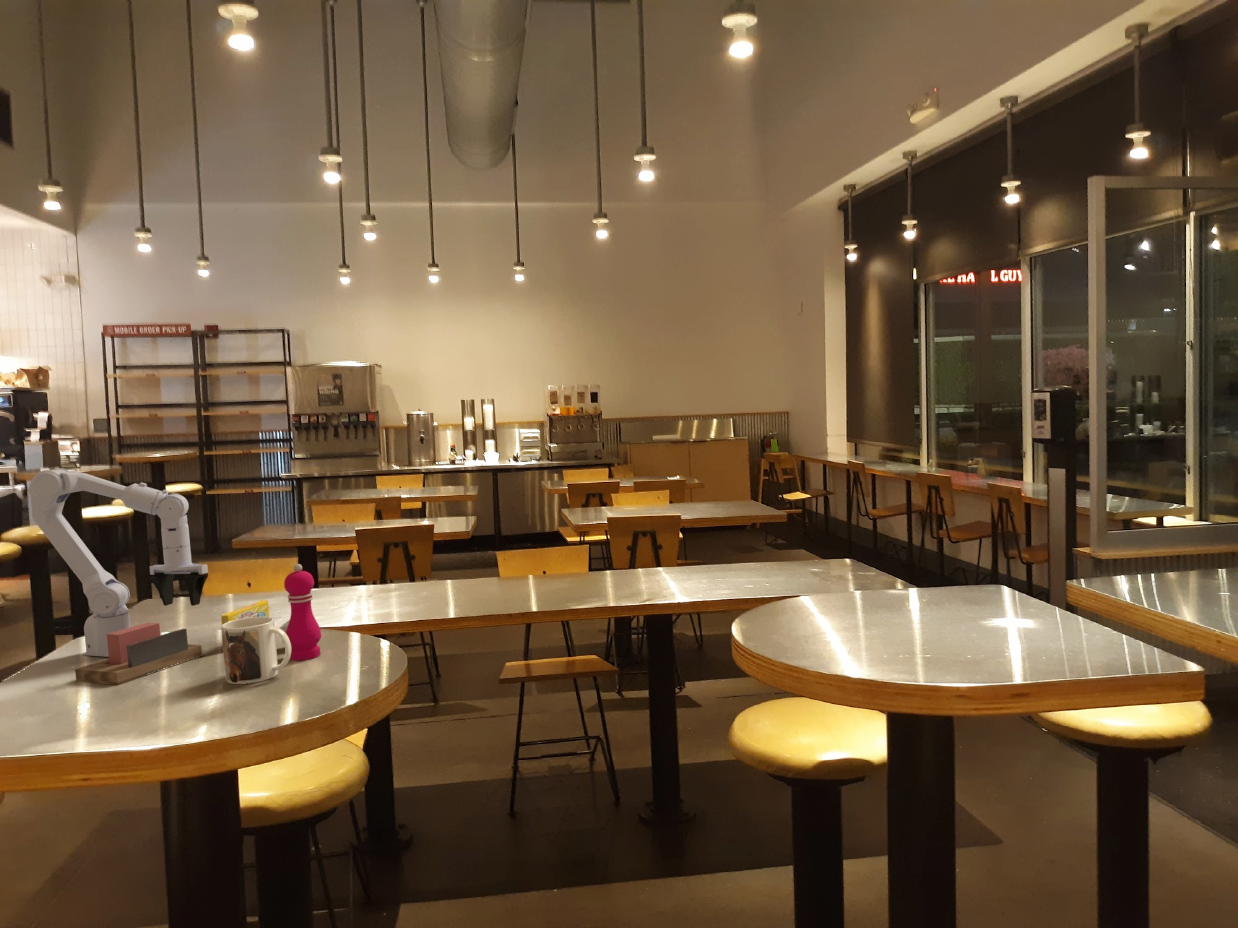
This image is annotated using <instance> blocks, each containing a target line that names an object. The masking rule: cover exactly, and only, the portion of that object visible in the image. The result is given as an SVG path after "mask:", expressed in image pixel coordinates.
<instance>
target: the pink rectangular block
mask: <svg viewBox="0 0 1238 928" xmlns="http://www.w3.org/2000/svg"><path fill="white" fill-rule="evenodd" d="M160 635H161V628H160V623H159V622H158V623H157V622H145V623H142V624H139V625H134V626H130V628H127V629H123V630H120V631H116V632H113V633H109V634H107V644H108V654H109V657H108V659H109V664H114V665H120V664H123V663H126V662H128V657H127V646H126V645H130V644H133V643H137V642H140V641H143V640H147V639H150V638H153V637H157V636H160Z"/></svg>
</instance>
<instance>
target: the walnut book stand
mask: <svg viewBox="0 0 1238 928" xmlns="http://www.w3.org/2000/svg"><path fill="white" fill-rule="evenodd" d="M202 651H203V649H202V645H201V644H189V643H188V650H185V651H182V652H179V653H176V654H172V655H169V656H166V657H163V658H160V659H157V660H154V661H151V662H148V663H145V664H142V665H139V666H136V667H133V668H130V667H128V662H126V663H123V664H120V665H114V664H109V658H107V659H104V660H100V661H97V662H95V663H91V664H87V665H84V666H81V667H78V668H75V669H74V672H75V673H74V674H75V680H76V682H81V683H82V682H83V683H90V684H91V683H93V684H102V685H112V686H113V685H114V686H119V685H122V684H125V683H128V682H131V681H134V680H136V678H137V679H139V677H140V678H142V677H141V676H143V677H145V676H144V675H146V676H148V675H147V674H148V673H152V672H154V671H158V670H161V669H163V668H166V667H169V668H171V667H170V666H171V665H175V664H177V663H181V662H184V663H186V662H185V661H187V660H190V661H192V660H191V659H193V658H196V657H199V658H201V657H200V656H202V657H203V652H202ZM196 659H197V658H196ZM193 660H194V659H193ZM187 662H188V661H187ZM181 664H182V663H181ZM175 666H176V665H175ZM166 669H167V668H166ZM163 670H164V669H163ZM161 671H162V670H161ZM158 672H159V671H158ZM152 674H153V673H152Z"/></svg>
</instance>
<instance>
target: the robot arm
mask: <svg viewBox="0 0 1238 928" xmlns="http://www.w3.org/2000/svg"><path fill="white" fill-rule="evenodd" d="M82 491H84V492H88V493H92V494H97V495H99V496H105V497H109V498H113V499H116V500H120V501H122V503H123V504H124V506H125V508H127V509H132V510H134V511H138V512H141V513H145V514H149V515H152V516H156V515H157V516H158V517H159V519H160V524H161V525H160V527H161V529H160V531H161V543H162V553H163V563H164V564H154V565H150V566H149V573H150V574H149V575H153V576H152V577H151V576H150V582H152V584H153V586H155V588H156V590H157V592H158V594H159V596H160V598H161V601H162V604H163V606H168V605H170V606H171V605H172V604H173V603H174V594H173V593H174V592H173V587H174V578H175V575H183V574H184V576H183V580H184V582H185V584H186V586H187V587H186V588H187V591H188V596H189V604H190V606H191V607H194V606H197V605H200V603H201V598H202V592H203V589H204V586H205V583H206V581H207V579H208V577H209V567H208V564H203V563H202V564H201V563H194V562H193V561H192V551H191V542H190V541H191V539H190V529H189V524H188V514H187V513H188V510H189V509H190V507H189V506H190V505H189V504H190V503H189V502H188V500H187V498H186V497H184V496H183V495H181V494H180V493H178V492H175V493H173V492H172V493H170V494H169V490H166V489H163V490H159V489H156V488H152V487H149V486H148V484H147V483H145V482H139V483H133V484H130V485H129V486H125V485H123V484H119V483H116V482H114V481H110V480H106V479H104V478H102V477H101V478H100V477H98V476H95V475H91V474H89V473H85V472H81V471H77V470H69V469H66V468H62V467H61V468H58V467H57V468H54V469H49V470H47V469H45V470H41V471H39V472H37V473H36V474H35V475H34V476H33V477H32V479H31V482H30V484H29V487H28V489H27V492H28V495H29V496H30V504H31V516H32V520H33V521H34V523H35V524H36V525H37V527H38V528H39V529H40V530H41V532H42V533H43V535H45V537H46V538H47V540H49V542H50V544H51V545H52V547H54V549H55V550H56V551H57V553H58V554H59V555H60V557H62V559H63V560H64V562H66V564H67V565H68V566H69V568H70V570H71V571H72V572H73V573H74V575H75V576H76V577H77V578H78V579H79V581H80V582H81V584H82V590H83V594H84V595H85V596H86V598H87V602H88V607H89V609H90V611H91V612H92V614H91V615H89V616H88V617H87V618H86V620H85V623H84V626H83V632H84V642H85V644H84V645H85V652H82V655H83V656H92V657H104V658H109V654H108V644H107V634H109V633H113V632H116V631H120V630H123V629H127V628H130V627H131V623H130V621H131V620H130V613H129V611H130V610H129V608H128V607H127V606H126V604H127V603H128V602H129V600H130V595H131V593H130V590H129V587H128V586H127V585H126V584H124V583H123V582H120V581H119V580H117V579H116V578H115V576H114V575H113V574H111V573H110V572H108V571H107V570H105V569H104V567H103V566H102V565H101V563H99V561H98V560H97V559H96V557H95V556H94V554H93V553H92V552H91V551H90V549H89V548H88V547H87V545H86V544H85V543H84V541H83V540H82V538H80V536H79V535H78V533H77V532H76V531H75V530H74V528H73V527H72V526H71V524H70V523H69V521H68V520H67V519H66V517H65V516H64V515H63V514H62V512H63V509H64V506H65V502H66V500H67V499H68V497H69V496H70V495H71V494H73V493H77V492H78V493H79V492H82ZM192 562H193V563H192ZM187 574H188V575H187Z"/></svg>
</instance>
